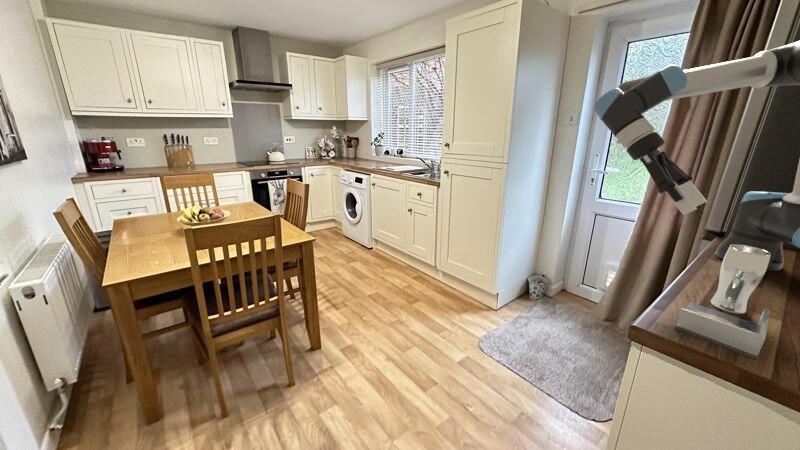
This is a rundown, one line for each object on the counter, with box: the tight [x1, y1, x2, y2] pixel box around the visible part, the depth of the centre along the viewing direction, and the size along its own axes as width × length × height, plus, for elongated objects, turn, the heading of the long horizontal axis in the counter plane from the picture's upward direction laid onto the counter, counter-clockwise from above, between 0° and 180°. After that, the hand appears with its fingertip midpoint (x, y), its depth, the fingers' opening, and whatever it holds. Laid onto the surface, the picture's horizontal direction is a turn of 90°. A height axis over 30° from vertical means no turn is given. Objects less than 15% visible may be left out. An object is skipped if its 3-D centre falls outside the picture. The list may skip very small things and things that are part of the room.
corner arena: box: [674, 302, 771, 360], centre depth 68 cm, size 15×12×5 cm
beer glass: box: [710, 244, 771, 315], centre depth 75 cm, size 7×7×15 cm
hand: (696, 208), depth 78 cm, fingers open, 13 cm apart
